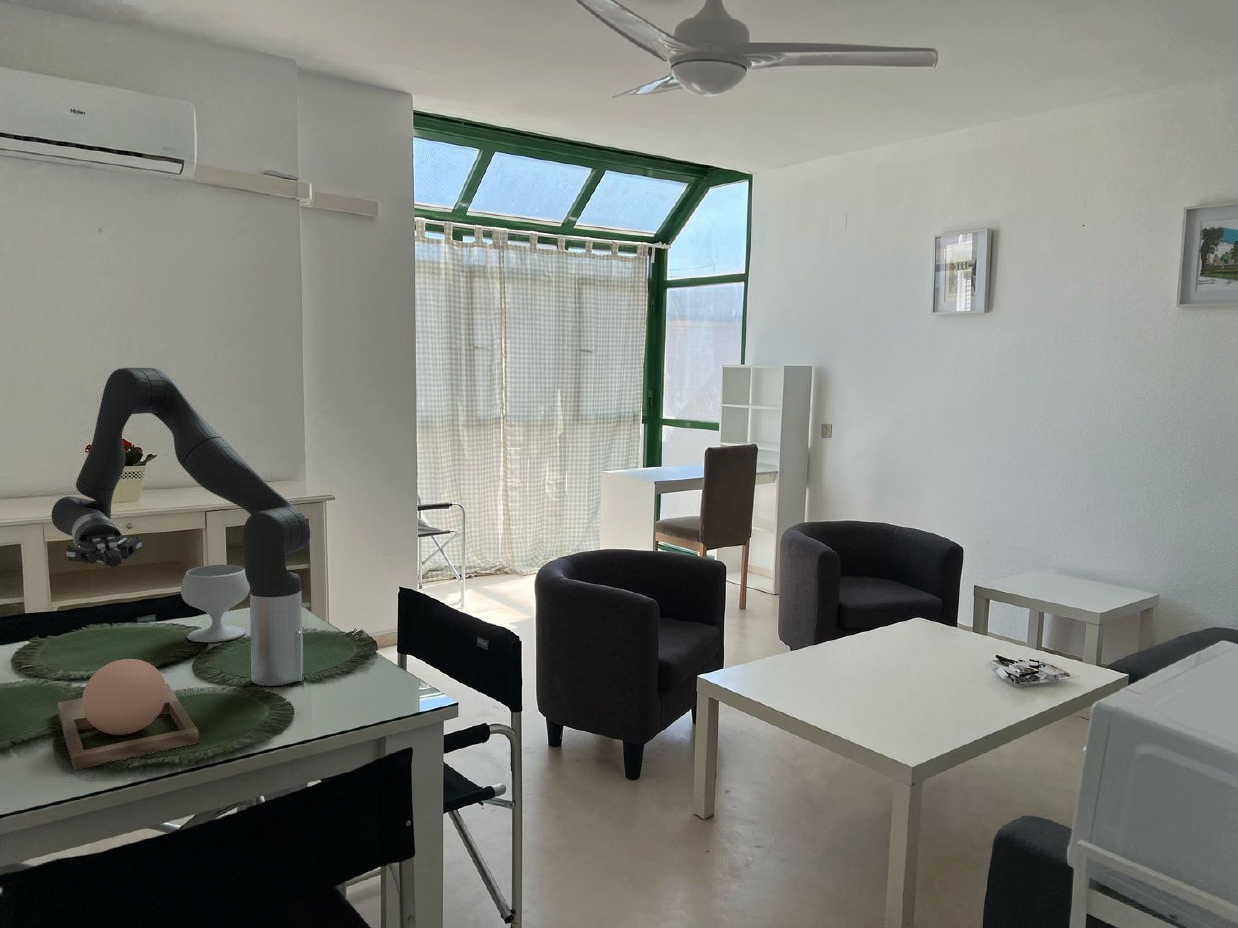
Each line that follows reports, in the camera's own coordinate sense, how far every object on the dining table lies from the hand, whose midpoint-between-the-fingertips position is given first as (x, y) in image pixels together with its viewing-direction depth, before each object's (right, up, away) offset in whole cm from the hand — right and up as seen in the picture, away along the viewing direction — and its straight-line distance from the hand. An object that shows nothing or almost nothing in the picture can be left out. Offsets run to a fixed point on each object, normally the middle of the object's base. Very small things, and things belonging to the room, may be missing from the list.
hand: (114, 561), depth 157 cm
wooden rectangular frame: (+10, -26, -13) cm, 31 cm away
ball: (+11, -20, -15) cm, 27 cm away
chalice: (+1, -21, +38) cm, 43 cm away
